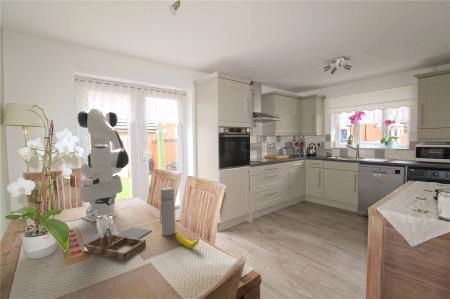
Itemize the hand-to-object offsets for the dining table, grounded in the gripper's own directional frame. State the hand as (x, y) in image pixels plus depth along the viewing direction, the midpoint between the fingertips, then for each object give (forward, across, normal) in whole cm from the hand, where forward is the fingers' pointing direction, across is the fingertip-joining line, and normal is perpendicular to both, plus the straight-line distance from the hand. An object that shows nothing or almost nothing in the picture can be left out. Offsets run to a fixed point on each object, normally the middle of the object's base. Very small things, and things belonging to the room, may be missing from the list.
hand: (104, 206), depth 102 cm
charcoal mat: (+20, -15, +3) cm, 25 cm away
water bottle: (+21, -22, +20) cm, 36 cm away
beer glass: (+20, 0, 0) cm, 20 cm away
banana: (+21, -13, +37) cm, 44 cm away
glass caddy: (+20, 0, +6) cm, 21 cm away
